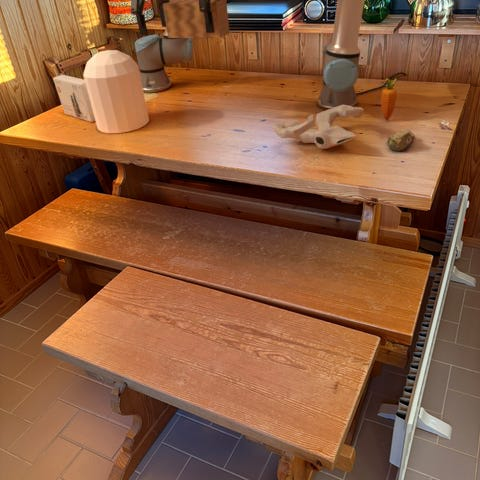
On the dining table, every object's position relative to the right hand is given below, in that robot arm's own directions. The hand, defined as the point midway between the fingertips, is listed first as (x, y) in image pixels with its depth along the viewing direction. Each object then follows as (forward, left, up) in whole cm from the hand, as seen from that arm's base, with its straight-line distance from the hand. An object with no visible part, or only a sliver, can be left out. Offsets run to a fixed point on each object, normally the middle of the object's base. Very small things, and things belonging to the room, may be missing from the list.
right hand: (215, 29), depth 162 cm
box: (+5, -5, -2) cm, 8 cm away
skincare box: (+55, -34, -33) cm, 72 cm away
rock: (-45, +51, -33) cm, 76 cm away
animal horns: (-24, +40, -33) cm, 57 cm away
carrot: (-52, +30, -33) cm, 69 cm away
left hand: (+20, -8, +1) cm, 22 cm away
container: (+38, -16, -33) cm, 53 cm away
